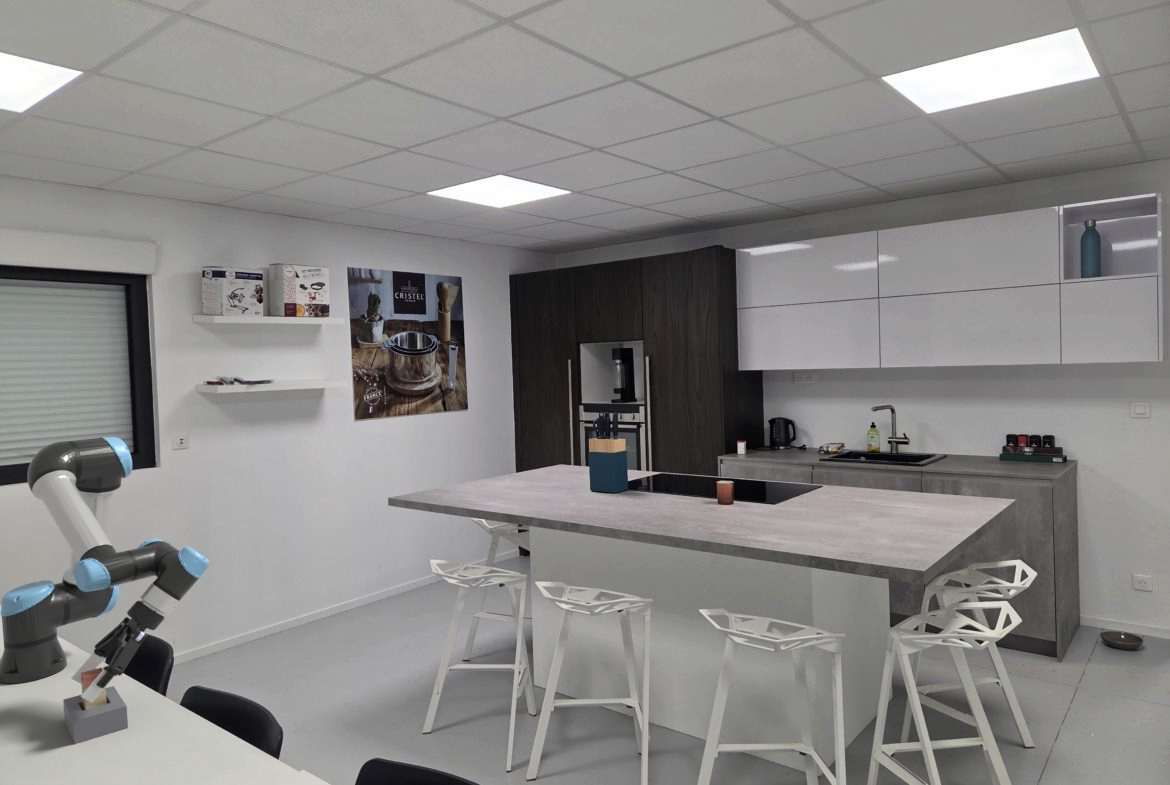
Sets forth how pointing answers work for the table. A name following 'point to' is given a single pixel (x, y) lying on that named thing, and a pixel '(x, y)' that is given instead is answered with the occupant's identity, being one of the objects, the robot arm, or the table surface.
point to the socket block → (95, 717)
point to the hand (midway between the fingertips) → (81, 690)
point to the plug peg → (86, 682)
